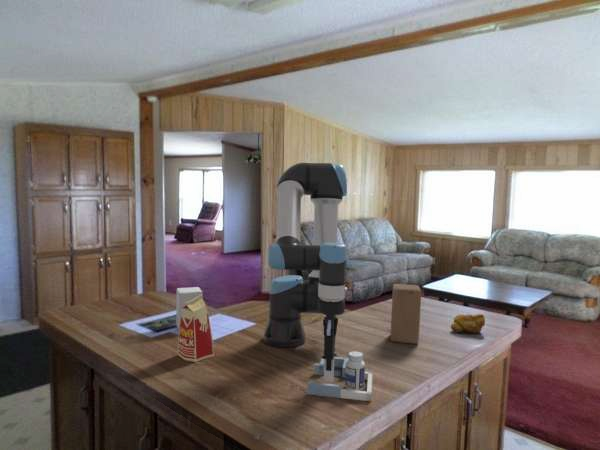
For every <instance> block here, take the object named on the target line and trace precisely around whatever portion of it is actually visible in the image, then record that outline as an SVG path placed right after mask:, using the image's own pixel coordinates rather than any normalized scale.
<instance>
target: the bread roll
mask: <svg viewBox="0 0 600 450" xmlns="http://www.w3.org/2000/svg"><path fill="white" fill-rule="evenodd" d="M485 322H486V319H485V315H484V314H481V313H479V314H469V313H467V314H457V315H455V317H454V318H453V322H452V323H451V325H450V328H451V329H450V330H452V331H453V332H456V333H459V334H464V333H467V334H472V335H473V334H475V335H476V334H478V333H481V331H482V329H483V327H484V326H485V325H486V323H485Z"/></svg>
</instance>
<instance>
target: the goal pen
mask: <svg viewBox="0 0 600 450" xmlns="http://www.w3.org/2000/svg"><path fill="white" fill-rule="evenodd" d="M365 380H366V381H367V384H366V388H367V389H366V391H365V390H361V391H358V390H348V389H347V388H341V398H340V399H346V400H347V399H348V400H355V401H367V402H372V390H373V389H372V388H373V371H365V376H364V381H365Z"/></svg>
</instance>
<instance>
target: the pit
mask: <svg viewBox="0 0 600 450" xmlns="http://www.w3.org/2000/svg"><path fill="white" fill-rule="evenodd" d="M342 371H343V368H341V367H334V378H343V377H342ZM322 376H323V377H324V372H323V375H322Z"/></svg>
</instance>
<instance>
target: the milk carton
mask: <svg viewBox="0 0 600 450" xmlns="http://www.w3.org/2000/svg"><path fill="white" fill-rule="evenodd" d="M185 305H186V306H185V307H184V308H183V310H182V315H181V321H180V328H179V330H178V339H177V355H178V357H180V358H182V359H183V360H184V361H188V362H193V363H194V362H195V363H197V362H199V361H200V362H201V360H205V359H209V358H212V357H215V352H214V341H213V340H214V339H213V332H212V327H211V321H210V318H209V316H210V315H209V312H208V309H207V308H208V307H207V305H206V302H205V301H204V299H202V294H201V295H199V296H198V297H196V298H195V299H193V300H191V301H189V302H186V303H185Z"/></svg>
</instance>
